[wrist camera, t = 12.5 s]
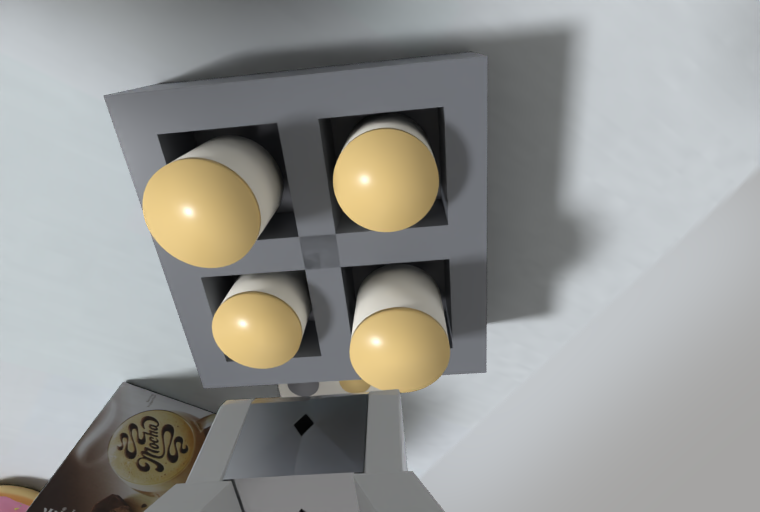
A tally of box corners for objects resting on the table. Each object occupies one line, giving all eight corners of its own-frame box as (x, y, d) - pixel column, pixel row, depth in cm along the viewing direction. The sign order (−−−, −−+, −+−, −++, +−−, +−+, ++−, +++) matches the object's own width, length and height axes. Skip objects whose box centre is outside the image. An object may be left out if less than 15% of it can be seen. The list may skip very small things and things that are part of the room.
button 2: (248, 322, 31) (224, 371, 27) (231, 257, 29) (201, 298, 25) (320, 317, 31) (307, 366, 27) (308, 251, 29) (292, 291, 24)
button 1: (203, 230, 26) (162, 272, 21) (177, 140, 23) (126, 165, 19) (291, 222, 25) (268, 263, 21) (273, 130, 23) (244, 154, 19)
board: (229, 341, 34) (203, 388, 30) (153, 84, 26) (103, 95, 22) (473, 325, 33) (486, 372, 28) (470, 51, 25) (487, 55, 20)
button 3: (349, 202, 27) (340, 235, 23) (338, 116, 25) (325, 134, 21) (433, 195, 27) (441, 228, 23) (429, 107, 25) (436, 124, 20)
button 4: (361, 338, 29) (355, 395, 24) (352, 267, 26) (343, 315, 22) (442, 333, 28) (451, 390, 24) (439, 260, 26) (448, 307, 22)
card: (292, 437, 38) (291, 442, 38) (273, 360, 35) (272, 365, 34) (388, 432, 38) (388, 437, 37) (379, 354, 34) (378, 358, 34)
